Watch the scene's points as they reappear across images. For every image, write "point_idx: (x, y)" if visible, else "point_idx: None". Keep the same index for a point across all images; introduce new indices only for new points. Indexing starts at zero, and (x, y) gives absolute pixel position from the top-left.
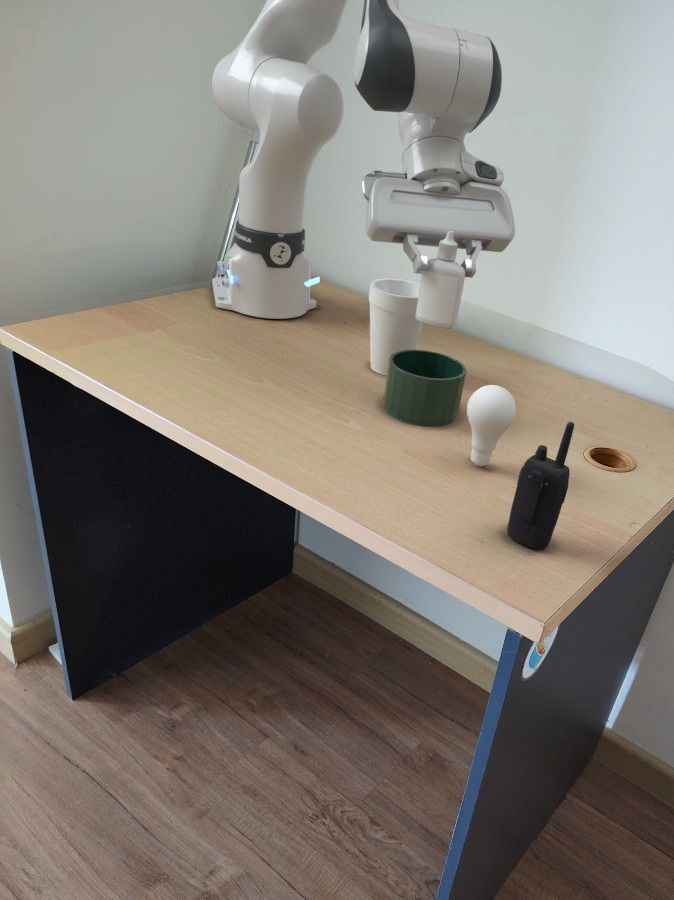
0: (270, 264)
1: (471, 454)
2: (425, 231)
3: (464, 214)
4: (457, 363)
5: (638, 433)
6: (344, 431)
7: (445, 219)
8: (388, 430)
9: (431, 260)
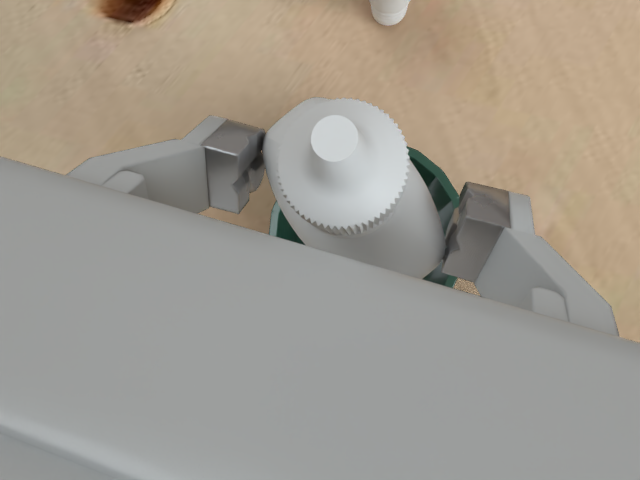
0: None
1: (406, 8)
2: (487, 301)
3: (9, 324)
4: (278, 230)
5: (7, 52)
6: (577, 194)
7: (264, 328)
8: (484, 176)
9: (418, 229)
